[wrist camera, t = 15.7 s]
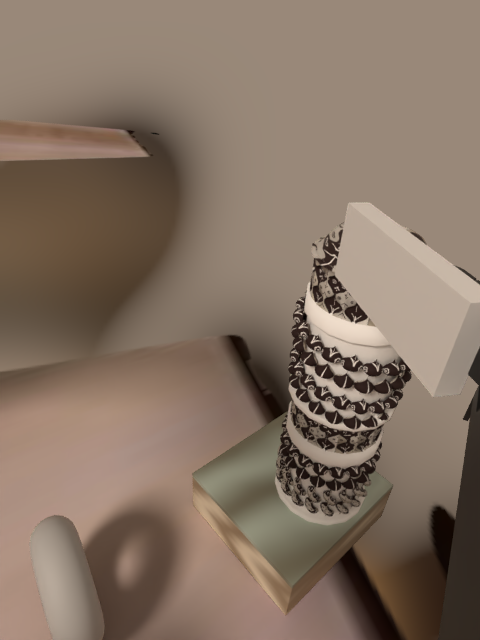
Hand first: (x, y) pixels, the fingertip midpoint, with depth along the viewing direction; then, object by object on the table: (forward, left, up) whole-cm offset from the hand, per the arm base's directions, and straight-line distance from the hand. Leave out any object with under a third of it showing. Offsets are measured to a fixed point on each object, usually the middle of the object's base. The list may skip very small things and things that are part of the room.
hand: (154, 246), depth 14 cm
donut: (-8, -5, -34) cm, 35 cm away
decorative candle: (-2, +17, -29) cm, 34 cm away
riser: (-4, +15, -34) cm, 37 cm away
